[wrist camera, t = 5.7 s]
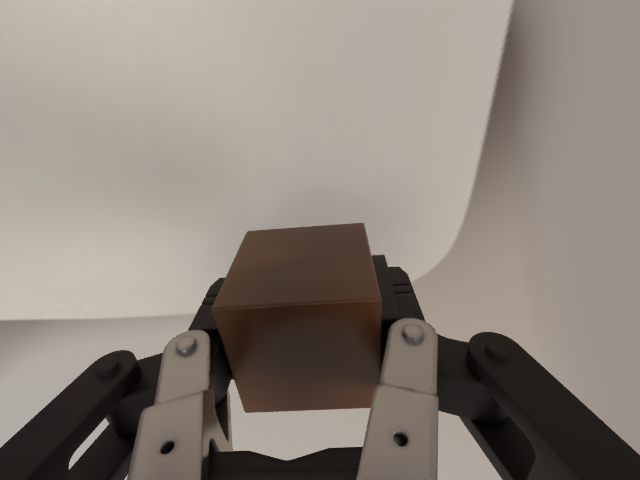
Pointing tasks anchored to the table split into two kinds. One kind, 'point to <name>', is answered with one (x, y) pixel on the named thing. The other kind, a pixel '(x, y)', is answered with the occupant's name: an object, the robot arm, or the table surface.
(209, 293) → the robot arm
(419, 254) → the table surface
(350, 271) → the block
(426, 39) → the table surface
